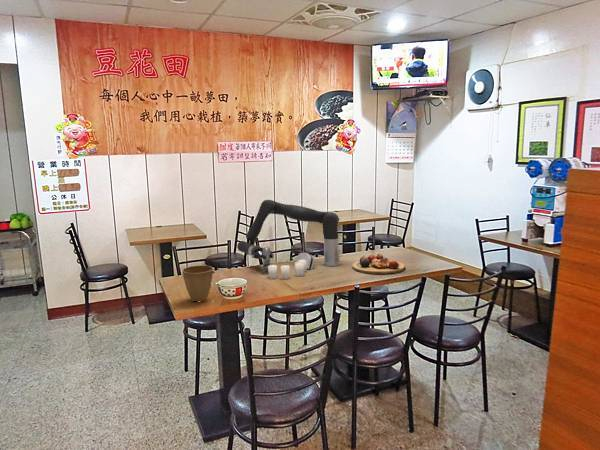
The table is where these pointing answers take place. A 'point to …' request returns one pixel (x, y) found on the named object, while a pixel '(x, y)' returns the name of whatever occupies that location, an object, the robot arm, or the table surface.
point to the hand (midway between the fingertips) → (268, 257)
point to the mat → (264, 272)
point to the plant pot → (198, 281)
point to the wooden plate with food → (378, 265)
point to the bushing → (266, 261)
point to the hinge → (306, 257)
